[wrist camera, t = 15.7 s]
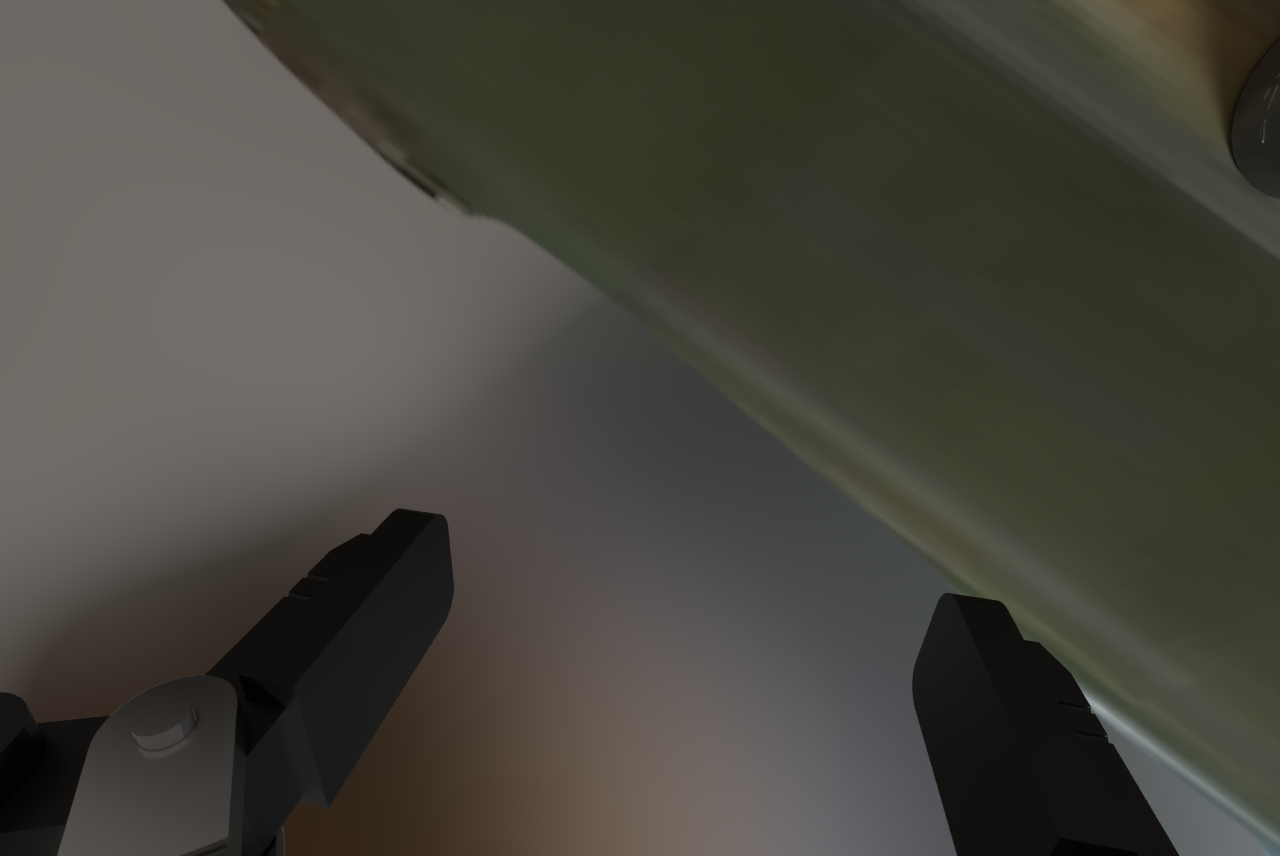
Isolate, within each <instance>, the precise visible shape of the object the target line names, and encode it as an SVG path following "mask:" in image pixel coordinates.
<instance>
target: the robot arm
mask: <svg viewBox="0 0 1280 856" xmlns="http://www.w3.org/2000/svg"><path fill="white" fill-rule="evenodd" d="M1231 141H1232V149H1233V156H1234V159H1235V161H1236V163H1237V166H1238V168H1239V170H1240V173H1241V174H1242V175H1243V176H1244V177H1245V178H1246V179H1247V181H1248V182H1249V183H1250V184H1251V185H1252V186H1253V187H1255V188H1256V189H1258V190H1260V191H1261V192H1263V193H1265V194H1266V195H1268V196H1272V197H1275V198H1279V199H1280V40H1279V41H1278V42H1277V43H1276V44H1275V45H1274V46H1273V47H1271V49H1270V50H1269V51H1268V53H1267V54H1266V55H1265V56H1264V58H1263V59H1262V60H1261V62H1260V63H1259V64H1258V66H1257V67H1256V68H1255V69H1254V71H1253V73H1252V75H1251V76H1250V78H1249V80H1248V82H1247V84H1246V85H1245V87H1244V89H1243V91H1242V93H1241V95H1240V98H1239V101H1238V104H1237V107H1236V110H1235V113H1234V116H1233V124H1232V133H1231ZM453 593H454V582H453V571H452V561H451V552H450V541H449V531H448V524H447V520H446V518H445V517H444V516H443V515H441V514H433V513H428V512H421V511H414V510H407V509H396V510H395V511H393V512H392V513H391V514H390V515H389V516H388V517H387V518H386V519H385V520H384V521H383V522H382V523H381V524H380V525H379V527H378V528H377V529H376V530H375V531H374V532H373V533H372V534H371V535H369V534H362V533H361V534H360V535H358V536H356V537H354V538H352V539H350V540H349V541H347V542H345V543H343V544H342V545H340V546H338V547H336V548H334V549H333V550H331V551H330V552H329V553H328V554H327V555H326V556H325V557H324V558H323V559H322V560H321V561H320V562H319V563H318V564H317V565H316V566H315V567H314V568H313V569H311V570H310V571H309V573H308V576H307V578H304V577H303V578H302V579H301V580H300V581H299V582H298V583H297V584H296V585H295V586H294V587H293V588H292V590H290V591H289V596H288V597H283V598H282V599H281V600H280V601H279V602H278V603H277V604H276V605H275V606H274V607H273V608H272V609H271V610H270V611H269V612H268V613H267V614H266V615H265V616H264V617H263V618H262V619H261V620H260V621H259V622H258V623H257V624H256V625H255V626H254V627H253V628H252V629H251V630H250V631H249V632H248V633H247V634H246V635H245V636H244V637H243V638H242V639H241V640H240V641H239V642H238V643H237V644H236V645H235V646H234V647H233V648H232V649H231V650H230V651H229V652H228V653H227V654H226V655H225V656H224V657H223V658H222V659H221V660H220V661H219V662H218V663H217V664H216V665H215V666H214V667H213V668H212V669H211V670H210V671H208V672H207V673H206V674H205V675H193V676H186V677H181V678H177V679H173V680H170V681H167V682H164V683H161V684H159V685H157V686H154V687H152V688H150V689H148V690H146V691H144V692H143V693H141V694H139V695H137V696H135V697H134V698H132V699H131V700H129V701H128V702H127V703H125V704H124V705H122V706H121V707H120V708H119V709H117V710H116V711H115V712H114V713H113V714H112V715H111V716H103V717H94V718H84V719H74V720H65V721H56V722H45V723H36V720H35V719H34V717H33V715H32V713H31V712H30V710H29V708H28V707H27V705H26V703H25V702H24V701H23V700H22V698H20V697H18V696H16V695H14V694H10V693H3V692H0V856H284V832H283V828H282V825H283V824H284V822H285V821H286V819H287V818H288V816H289V815H290V813H291V812H292V810H293V809H294V807H295V806H296V804H297V803H298V802H302V803H306V804H311V805H316V806H320V807H325V808H329V806H330V805H331V803H332V802H333V800H334V798H335V797H336V795H337V793H338V792H339V790H340V789H341V787H342V786H343V784H344V782H345V781H346V779H347V778H348V776H349V774H350V773H351V771H352V770H353V768H354V767H355V765H356V763H357V762H358V760H359V759H360V757H361V755H362V754H363V752H364V751H365V749H366V747H367V746H368V744H369V742H370V741H371V739H372V738H373V736H374V735H375V733H376V731H377V730H378V728H379V727H380V725H381V723H382V722H383V720H384V719H385V717H386V715H387V714H388V712H389V711H390V709H391V707H392V706H393V704H394V702H395V701H396V699H397V698H398V696H399V695H400V693H401V691H402V690H403V688H404V687H405V685H406V683H407V682H408V680H409V679H410V677H411V675H412V674H413V672H414V671H415V669H416V667H417V666H418V664H419V663H420V661H421V659H422V658H423V656H424V655H425V653H426V652H427V650H428V648H429V647H430V645H431V644H432V642H433V640H434V639H435V637H436V635H437V634H438V632H439V631H440V629H441V627H442V626H443V624H444V623H445V621H446V618H447V616H448V614H449V611H450V608H451V604H452V600H453ZM912 690H913V691H912V692H913V701H914V706H915V710H916V713H917V717H918V720H919V724H920V727H921V731H922V734H923V738H924V741H925V745H926V748H927V752H928V755H929V759H930V762H931V766H932V769H933V773H934V776H935V780H936V783H937V787H938V790H939V794H940V797H941V801H942V804H943V808H944V811H945V815H946V818H947V821H948V825H949V829H950V832H951V836H952V839H953V843H954V846H955V850H956V853H957V856H1179V854H1178V853H1177V851H1176V849H1175V848H1174V846H1173V845H1172V843H1171V841H1170V839H1169V837H1168V836H1167V834H1166V832H1165V831H1164V829H1163V827H1162V826H1161V824H1160V823H1159V821H1158V819H1157V818H1156V816H1155V814H1154V812H1153V811H1152V809H1151V807H1150V805H1149V804H1148V802H1147V800H1146V799H1145V797H1144V795H1143V794H1142V792H1141V790H1140V789H1139V787H1138V785H1137V784H1136V782H1135V780H1134V779H1133V777H1132V775H1131V774H1130V772H1129V770H1128V769H1127V767H1126V765H1125V763H1124V762H1123V760H1122V758H1121V757H1120V755H1119V753H1118V752H1117V750H1116V748H1115V747H1114V745H1113V744H1111V743H1109V742H1108V735H1107V733H1106V732H1105V730H1104V728H1103V727H1102V725H1101V723H1100V721H1099V720H1098V718H1097V716H1096V715H1095V714H1092V713H1091V706H1090V705H1089V703H1088V701H1087V699H1086V698H1085V696H1084V694H1083V693H1082V691H1081V689H1080V688H1079V686H1078V684H1077V683H1076V681H1075V679H1074V678H1073V676H1072V674H1071V673H1070V672H1069V671H1068V670H1067V669H1066V668H1065V667H1064V666H1063V665H1062V664H1061V663H1060V662H1059V661H1058V660H1057V659H1056V658H1055V657H1053V656H1052V655H1051V654H1050V653H1049V652H1048V651H1047V650H1046V649H1045V648H1044V647H1043V646H1042V645H1041V644H1040V643H1039V642H1033V641H1027V640H1024V639H1023V637H1022V635H1021V633H1020V632H1019V630H1018V628H1017V626H1016V624H1015V622H1014V620H1013V619H1012V617H1011V615H1010V613H1009V611H1008V609H1007V608H1006V606H1005V605H1004V604H1003V603H1002V602H1000V601H997V600H990V599H984V598H977V597H971V596H964V595H958V594H951V593H945V594H943V595H942V596H941V598H940V599H939V601H938V603H937V606H936V608H935V611H934V614H933V616H932V619H931V622H930V625H929V627H928V630H927V633H926V635H925V638H924V641H923V644H922V646H921V649H920V652H919V654H918V657H917V660H916V663H915V666H914V672H913V680H912Z"/></svg>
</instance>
